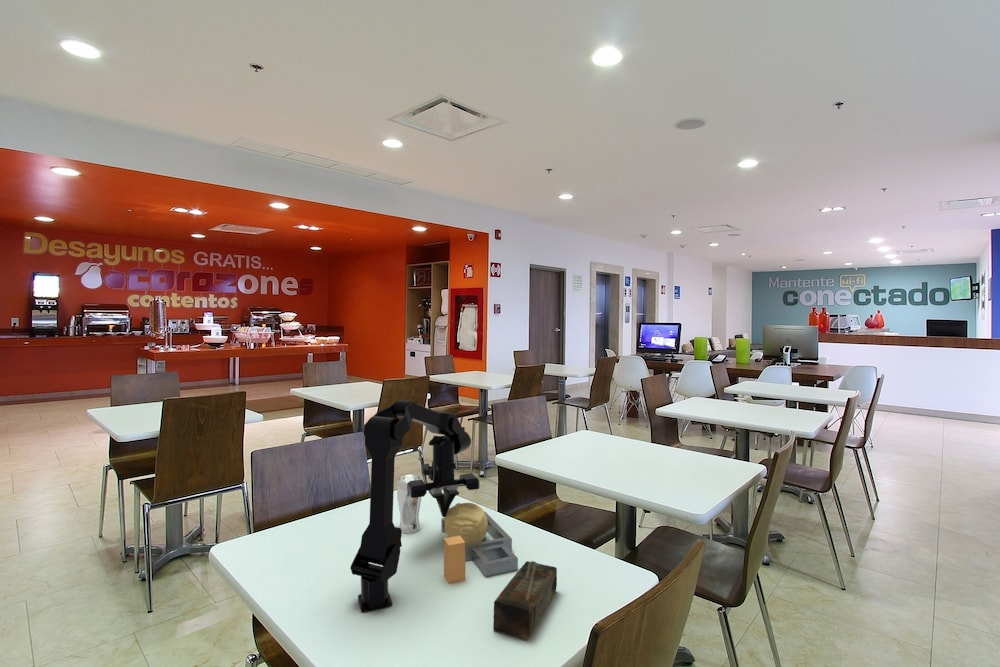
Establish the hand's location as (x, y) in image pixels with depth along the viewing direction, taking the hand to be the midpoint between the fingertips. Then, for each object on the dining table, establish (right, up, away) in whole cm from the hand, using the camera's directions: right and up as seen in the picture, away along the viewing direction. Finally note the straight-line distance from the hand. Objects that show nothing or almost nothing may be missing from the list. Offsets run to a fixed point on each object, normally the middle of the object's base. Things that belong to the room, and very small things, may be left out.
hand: (443, 516), depth 135 cm
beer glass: (-11, -8, +11) cm, 18 cm away
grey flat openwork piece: (+10, -8, -1) cm, 13 cm away
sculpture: (+6, -8, +3) cm, 11 cm away
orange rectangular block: (+4, -9, -16) cm, 19 cm away
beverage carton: (+21, -10, -29) cm, 37 cm away
